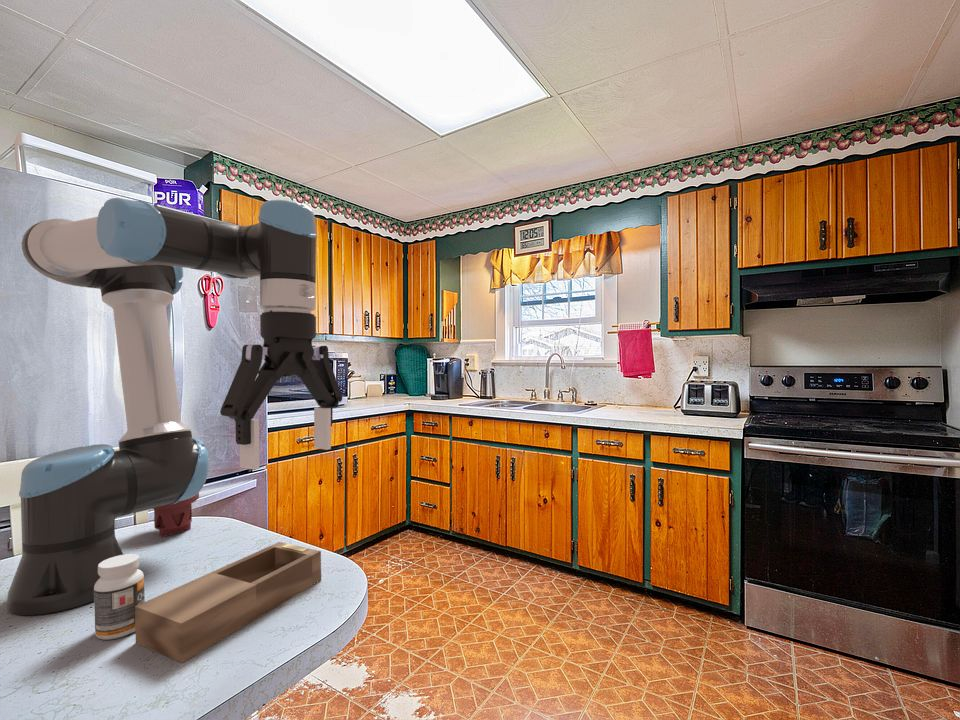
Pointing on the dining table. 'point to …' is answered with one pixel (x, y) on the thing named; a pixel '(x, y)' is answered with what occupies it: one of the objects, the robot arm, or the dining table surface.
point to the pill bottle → (117, 596)
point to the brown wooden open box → (224, 600)
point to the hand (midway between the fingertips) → (289, 457)
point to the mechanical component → (174, 517)
